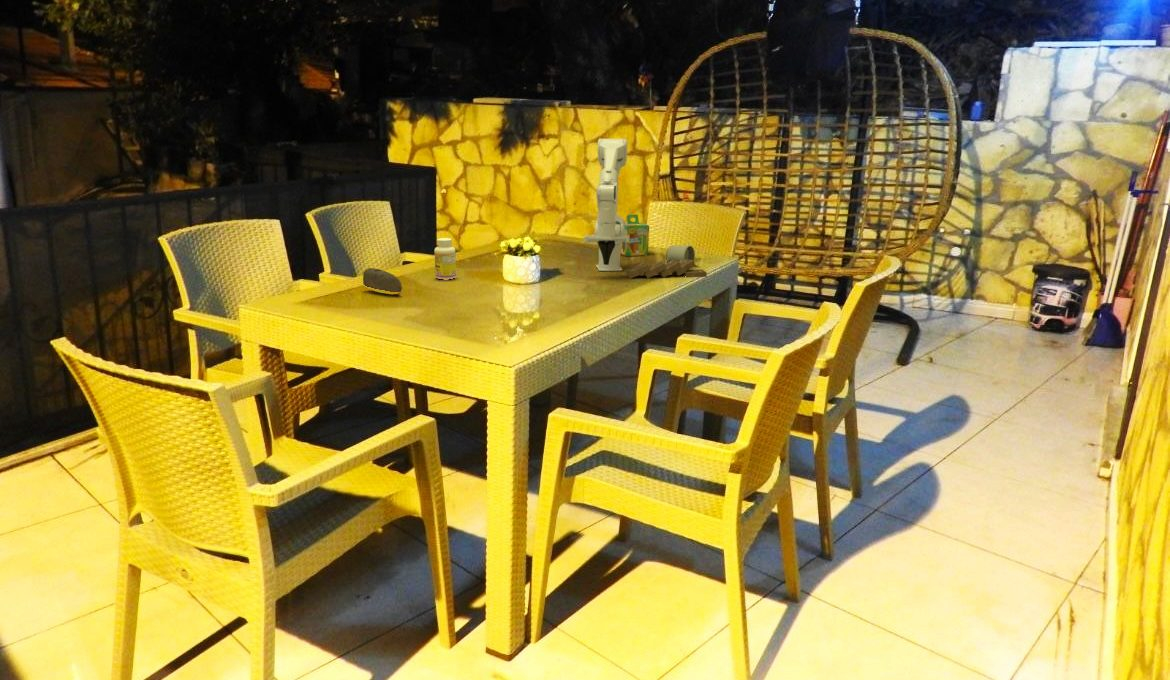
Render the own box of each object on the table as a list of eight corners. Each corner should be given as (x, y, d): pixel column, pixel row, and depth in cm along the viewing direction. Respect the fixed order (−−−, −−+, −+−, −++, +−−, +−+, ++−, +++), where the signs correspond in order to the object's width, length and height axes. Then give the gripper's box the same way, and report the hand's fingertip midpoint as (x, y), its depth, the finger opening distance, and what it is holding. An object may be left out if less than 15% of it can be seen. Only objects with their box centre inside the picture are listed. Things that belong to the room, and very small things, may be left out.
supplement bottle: (434, 277, 275) (432, 237, 272) (454, 276, 277) (453, 237, 274) (437, 281, 269) (435, 241, 266) (458, 280, 271) (456, 240, 268)
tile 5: (681, 269, 283) (701, 268, 284) (681, 275, 283) (701, 275, 285) (686, 272, 278) (706, 271, 279) (686, 278, 279) (706, 278, 280)
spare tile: (625, 269, 280) (644, 261, 280) (627, 275, 280) (646, 267, 281) (627, 272, 275) (647, 264, 275) (630, 278, 276) (649, 270, 276)
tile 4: (669, 268, 282) (686, 258, 284) (671, 274, 283) (688, 264, 285) (676, 269, 278) (693, 259, 279) (678, 275, 279) (695, 265, 280)
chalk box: (626, 257, 313) (627, 217, 309) (616, 253, 321) (617, 214, 317) (649, 255, 317) (650, 216, 313) (638, 251, 325) (639, 213, 321)
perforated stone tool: (408, 296, 249) (406, 272, 248) (393, 299, 245) (392, 275, 244) (376, 288, 259) (374, 266, 257) (361, 291, 255) (360, 268, 253)
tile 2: (641, 269, 280) (660, 260, 280) (644, 275, 281) (663, 265, 281) (644, 272, 276) (663, 262, 276) (647, 278, 276) (666, 268, 276)
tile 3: (655, 269, 281) (673, 258, 282) (658, 274, 282) (675, 264, 283) (660, 272, 276) (678, 261, 277) (663, 277, 277) (681, 267, 278)
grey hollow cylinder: (674, 263, 302) (675, 241, 300) (695, 265, 298) (695, 244, 296) (659, 268, 294) (659, 246, 292) (679, 271, 290) (680, 248, 287)
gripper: (585, 224, 267) (585, 266, 271) (631, 223, 269) (630, 266, 273) (583, 221, 274) (582, 262, 278) (627, 220, 276) (626, 262, 279)
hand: (606, 264), depth 276 cm, fingers closed
